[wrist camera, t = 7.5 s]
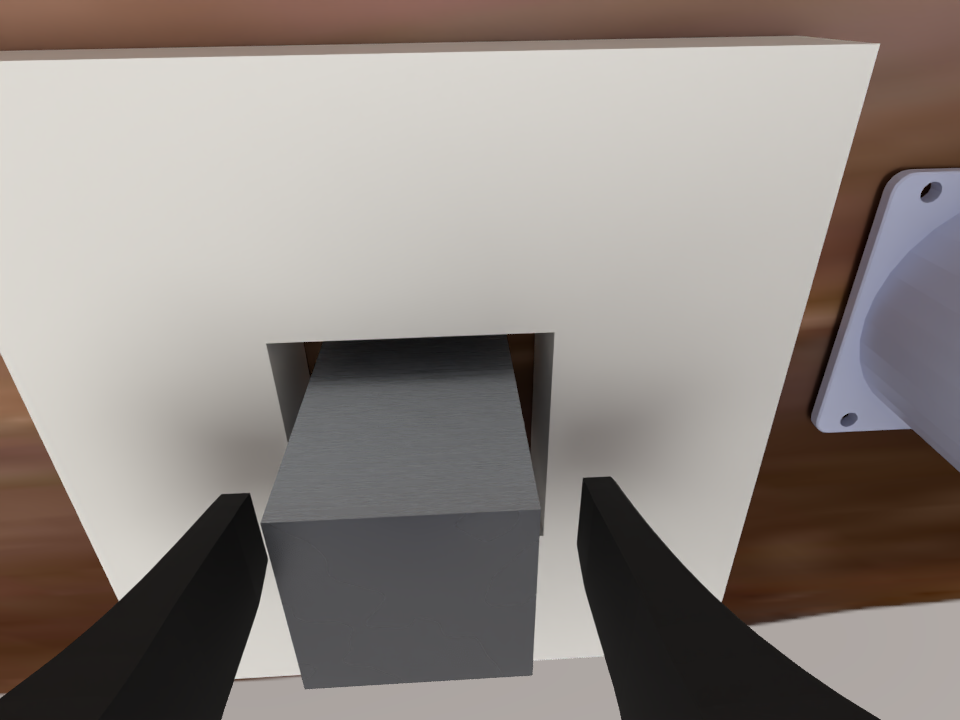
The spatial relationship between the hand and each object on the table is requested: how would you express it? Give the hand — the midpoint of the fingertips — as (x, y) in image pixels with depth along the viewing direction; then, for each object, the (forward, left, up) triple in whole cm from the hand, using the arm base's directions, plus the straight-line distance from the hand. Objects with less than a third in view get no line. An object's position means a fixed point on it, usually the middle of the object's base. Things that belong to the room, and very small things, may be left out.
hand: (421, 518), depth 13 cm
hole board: (0, 0, -5) cm, 5 cm away
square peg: (0, 0, -5) cm, 5 cm away
